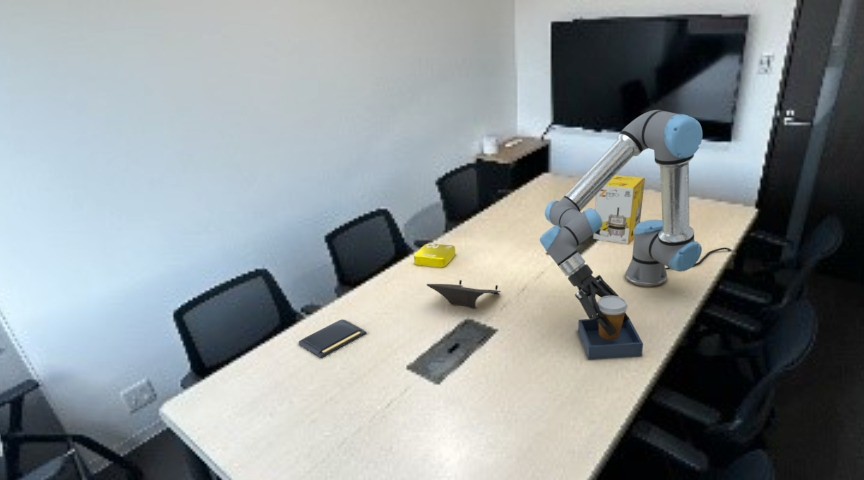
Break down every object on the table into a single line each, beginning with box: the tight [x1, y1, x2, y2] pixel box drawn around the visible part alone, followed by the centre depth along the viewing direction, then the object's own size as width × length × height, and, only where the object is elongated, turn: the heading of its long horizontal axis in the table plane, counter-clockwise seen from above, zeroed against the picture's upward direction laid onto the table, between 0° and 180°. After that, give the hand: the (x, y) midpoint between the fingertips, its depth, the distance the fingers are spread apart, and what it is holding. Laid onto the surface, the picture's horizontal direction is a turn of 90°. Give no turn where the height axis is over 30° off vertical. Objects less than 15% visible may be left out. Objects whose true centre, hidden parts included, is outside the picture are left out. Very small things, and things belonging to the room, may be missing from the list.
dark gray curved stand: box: [426, 279, 502, 309], centre depth 204 cm, size 23×23×9 cm
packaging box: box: [592, 174, 646, 245], centre depth 242 cm, size 16×16×25 cm
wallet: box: [298, 319, 367, 359], centre depth 190 cm, size 20×2×15 cm
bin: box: [577, 318, 644, 361], centre depth 174 cm, size 17×17×5 cm
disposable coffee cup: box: [597, 295, 629, 340], centre depth 170 cm, size 10×10×12 cm
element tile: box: [413, 243, 457, 268], centre depth 240 cm, size 15×15×5 cm
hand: (619, 327), depth 169 cm, fingers closed on disposable coffee cup, 9 cm apart
